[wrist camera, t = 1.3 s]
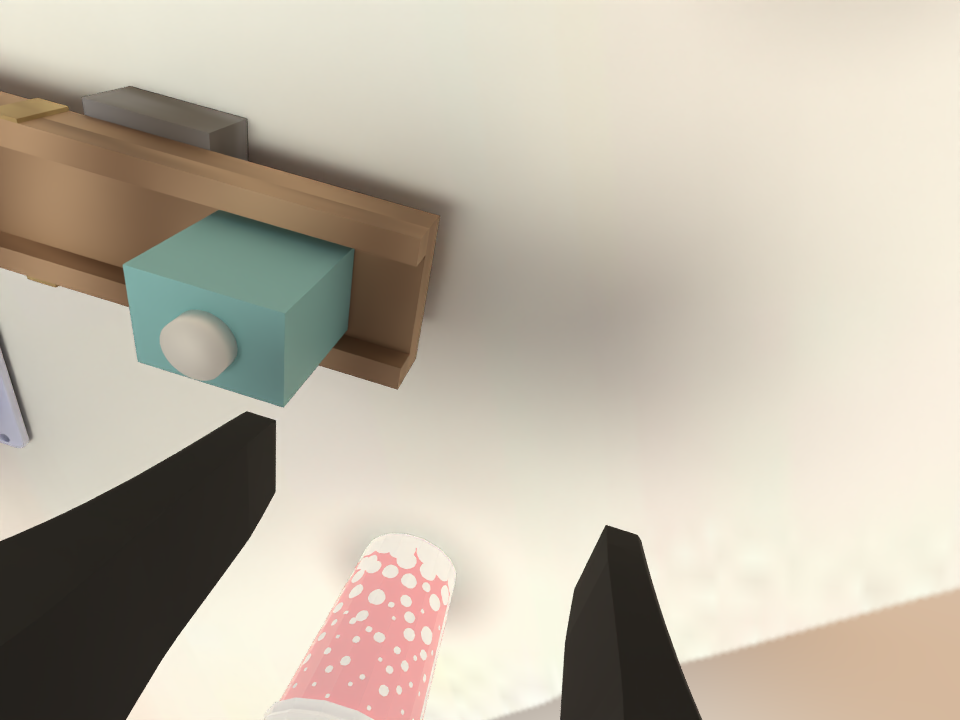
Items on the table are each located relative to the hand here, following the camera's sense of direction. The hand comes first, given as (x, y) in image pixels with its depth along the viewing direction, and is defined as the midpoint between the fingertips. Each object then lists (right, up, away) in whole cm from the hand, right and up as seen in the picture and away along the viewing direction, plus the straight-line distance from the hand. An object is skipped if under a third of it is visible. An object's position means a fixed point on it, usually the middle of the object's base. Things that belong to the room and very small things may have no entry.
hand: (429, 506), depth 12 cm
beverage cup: (-2, -7, +17) cm, 19 cm away
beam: (-9, +9, +9) cm, 15 cm away
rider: (-5, +5, +6) cm, 9 cm away
